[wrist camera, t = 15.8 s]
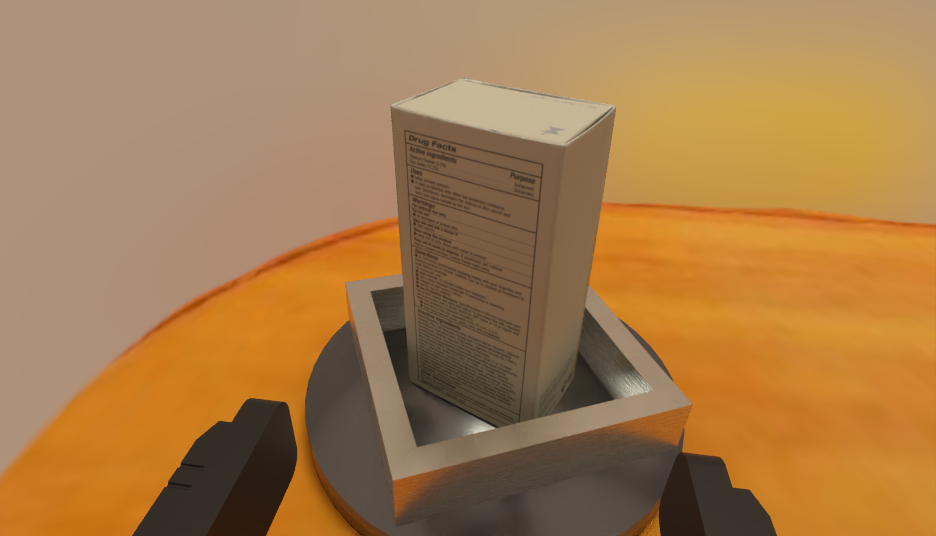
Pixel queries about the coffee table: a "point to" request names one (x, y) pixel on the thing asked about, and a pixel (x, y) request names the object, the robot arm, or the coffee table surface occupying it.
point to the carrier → (490, 436)
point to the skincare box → (497, 240)
